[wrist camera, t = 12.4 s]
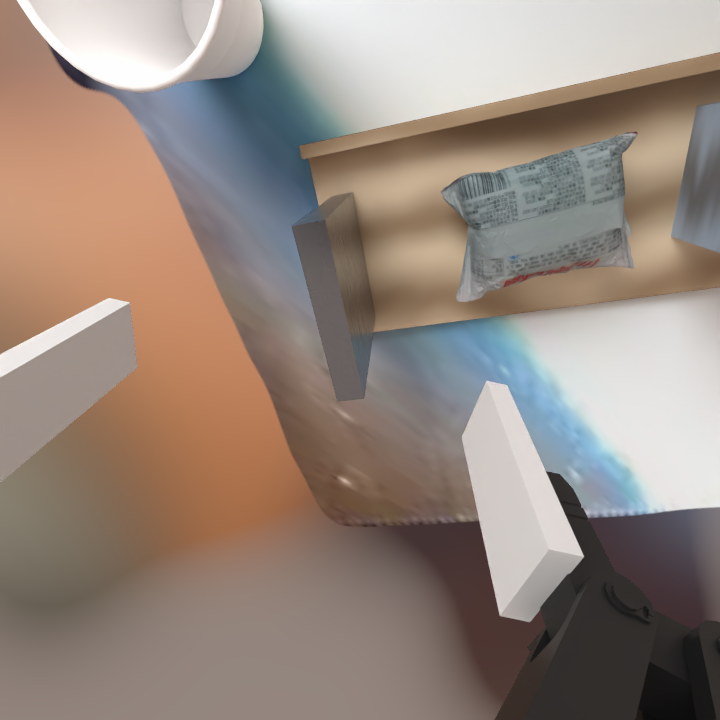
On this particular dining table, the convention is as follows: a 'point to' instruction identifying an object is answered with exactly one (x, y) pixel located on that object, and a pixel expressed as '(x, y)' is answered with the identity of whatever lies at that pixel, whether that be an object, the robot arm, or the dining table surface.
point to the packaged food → (543, 217)
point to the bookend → (339, 290)
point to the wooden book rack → (523, 145)
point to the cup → (151, 38)
